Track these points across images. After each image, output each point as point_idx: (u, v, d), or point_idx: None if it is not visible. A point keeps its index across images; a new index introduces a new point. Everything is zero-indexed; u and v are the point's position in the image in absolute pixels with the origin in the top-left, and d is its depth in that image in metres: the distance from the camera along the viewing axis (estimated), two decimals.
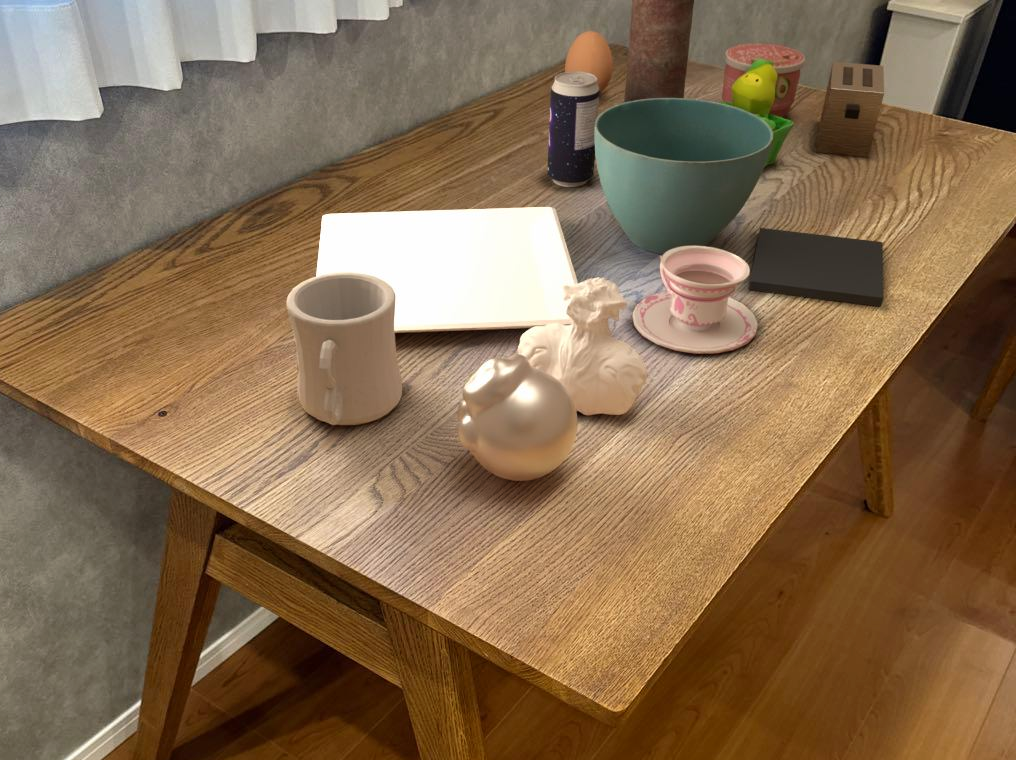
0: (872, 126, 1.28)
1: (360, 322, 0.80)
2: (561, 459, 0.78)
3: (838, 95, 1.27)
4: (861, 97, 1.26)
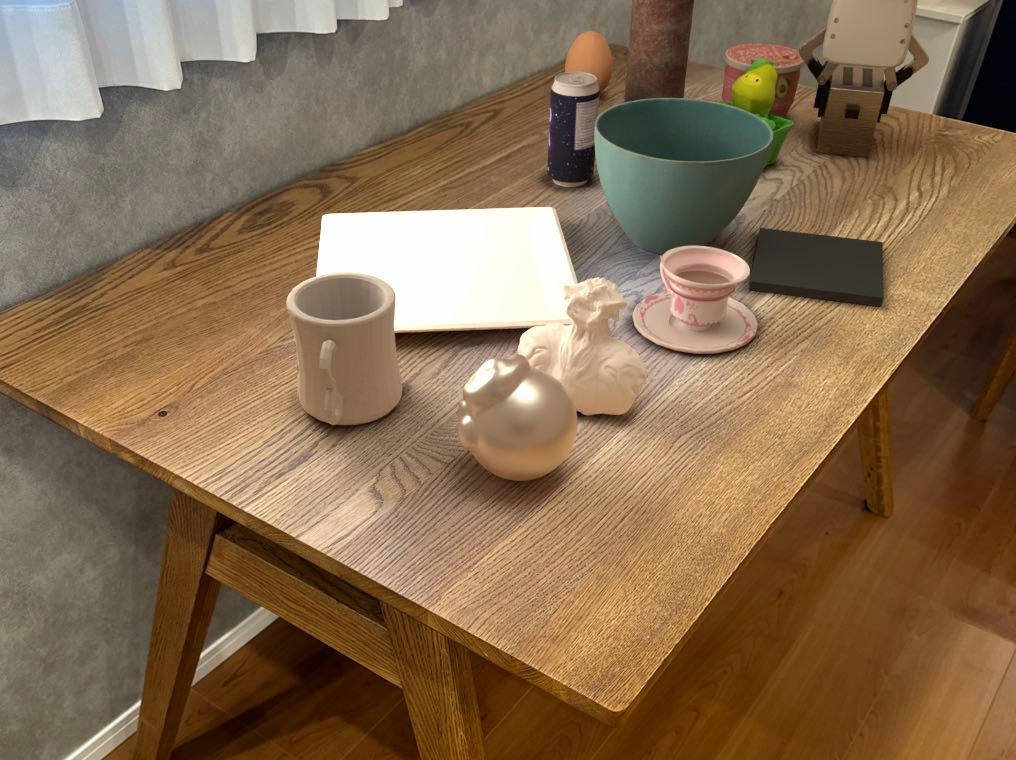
0: (872, 126, 1.28)
1: (360, 322, 0.80)
2: (561, 459, 0.78)
3: (838, 95, 1.27)
4: (861, 97, 1.26)
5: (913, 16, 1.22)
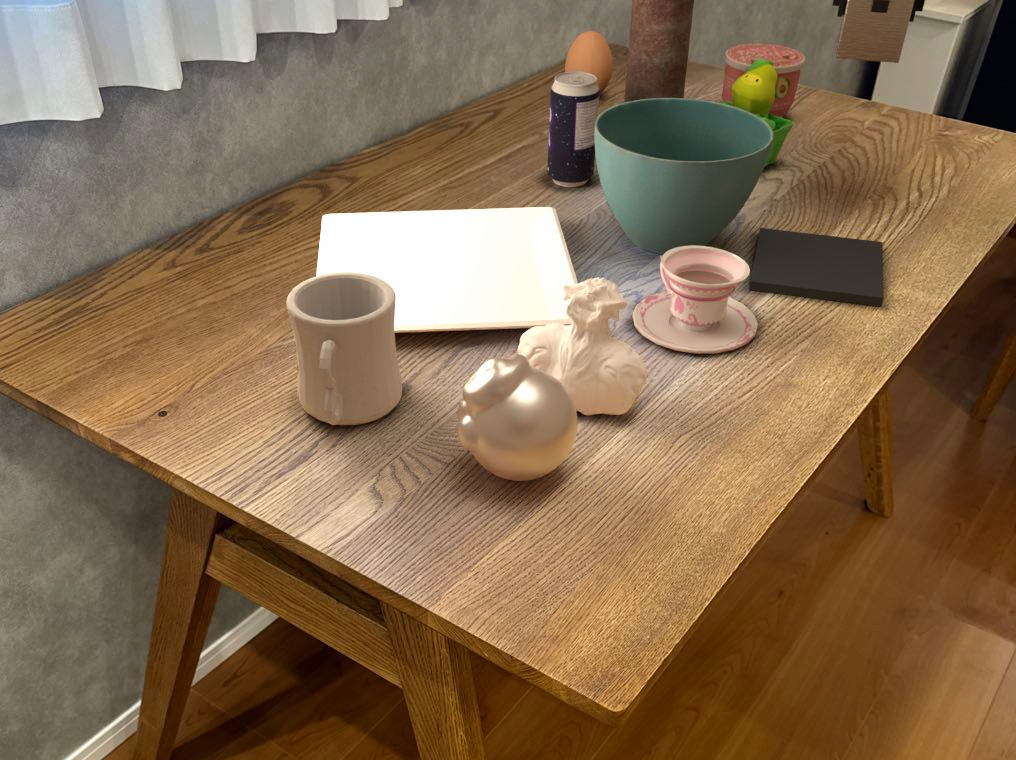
0: (905, 23, 1.05)
1: (360, 322, 0.80)
2: (561, 459, 0.78)
3: None
4: None
5: None
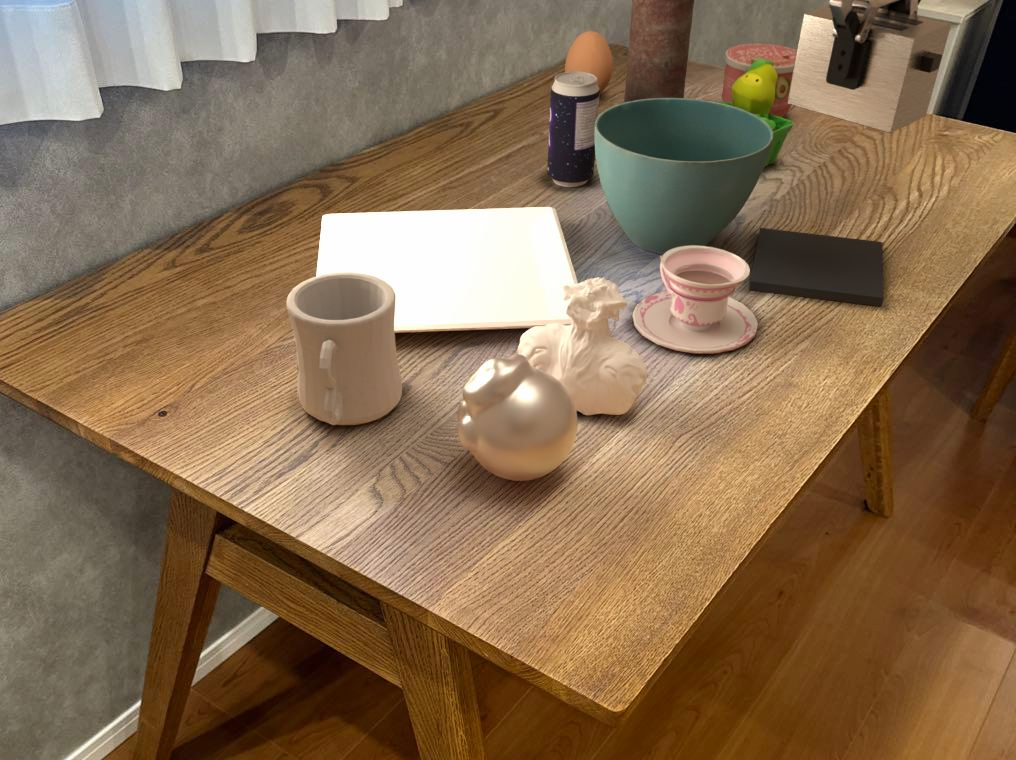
0: (936, 73, 0.92)
1: (360, 322, 0.80)
2: (561, 459, 0.78)
3: (919, 45, 0.88)
4: (935, 38, 0.89)
5: None
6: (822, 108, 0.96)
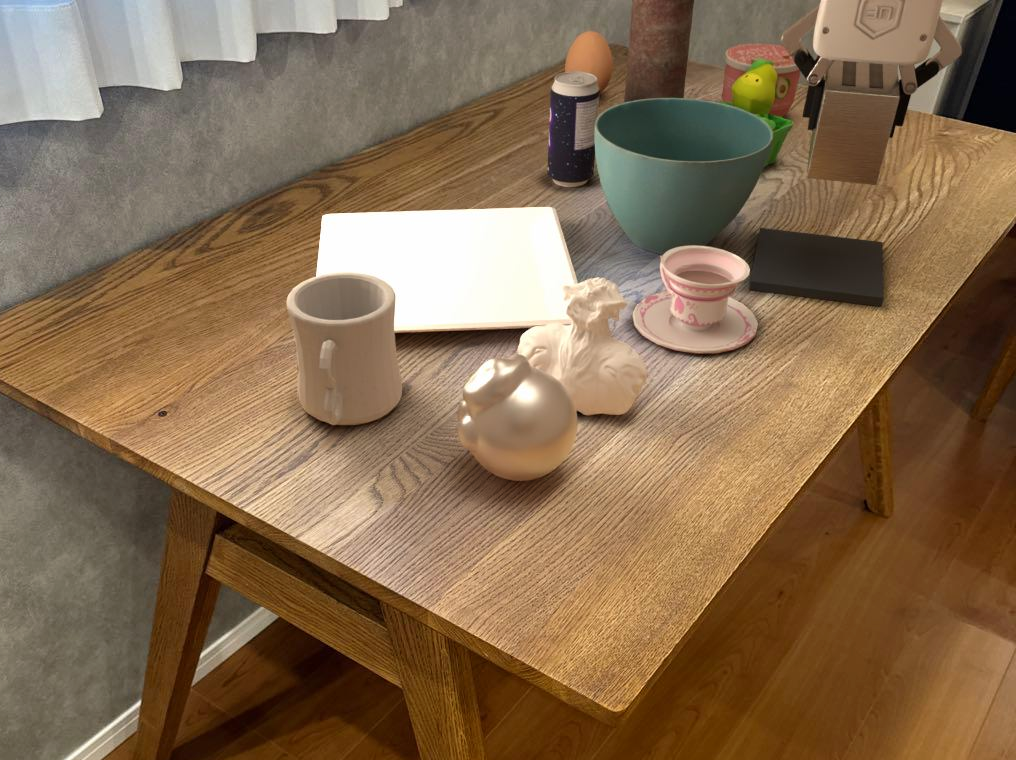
0: None
1: (360, 322, 0.80)
2: (561, 459, 0.78)
3: None
4: None
5: None
6: None
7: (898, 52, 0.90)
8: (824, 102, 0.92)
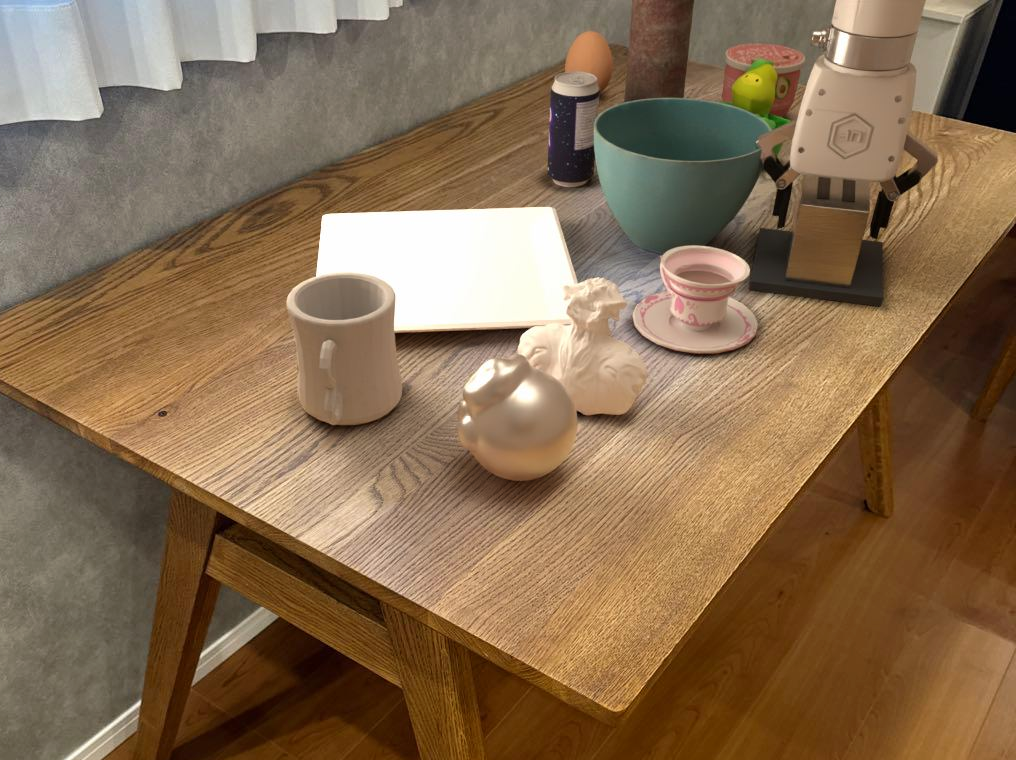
0: None
1: (360, 322, 0.80)
2: (561, 459, 0.78)
3: None
4: None
5: None
6: None
7: (868, 171, 0.97)
8: (800, 215, 0.99)
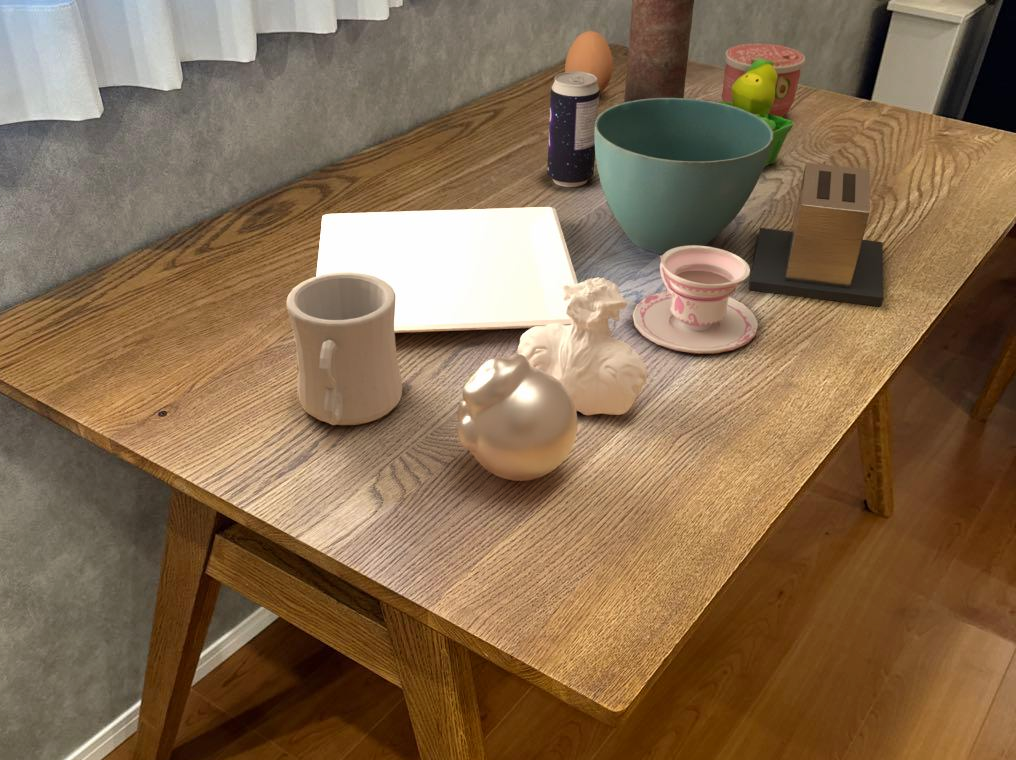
0: None
1: (360, 322, 0.80)
2: (561, 459, 0.78)
3: None
4: None
5: None
6: None
7: None
8: (800, 215, 0.99)
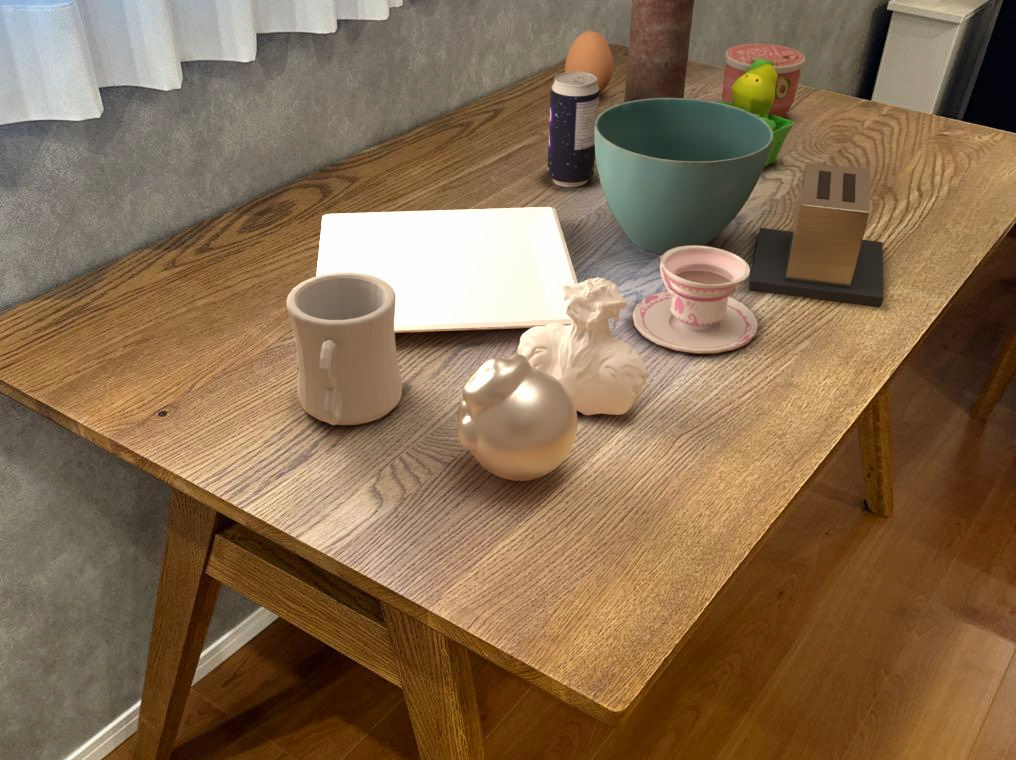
0: None
1: (360, 322, 0.80)
2: (561, 459, 0.78)
3: None
4: None
5: None
6: None
7: None
8: (800, 215, 0.99)
